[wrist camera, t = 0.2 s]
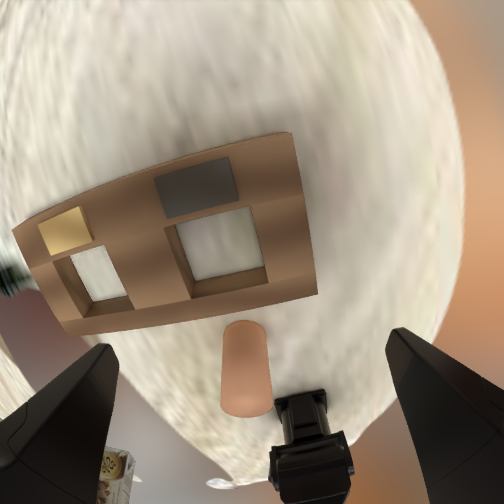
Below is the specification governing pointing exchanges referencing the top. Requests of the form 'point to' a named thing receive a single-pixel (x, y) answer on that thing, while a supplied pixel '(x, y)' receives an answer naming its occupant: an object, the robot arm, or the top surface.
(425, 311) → the top surface
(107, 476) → the coffee box
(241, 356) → the plug
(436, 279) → the top surface
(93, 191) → the socket board
